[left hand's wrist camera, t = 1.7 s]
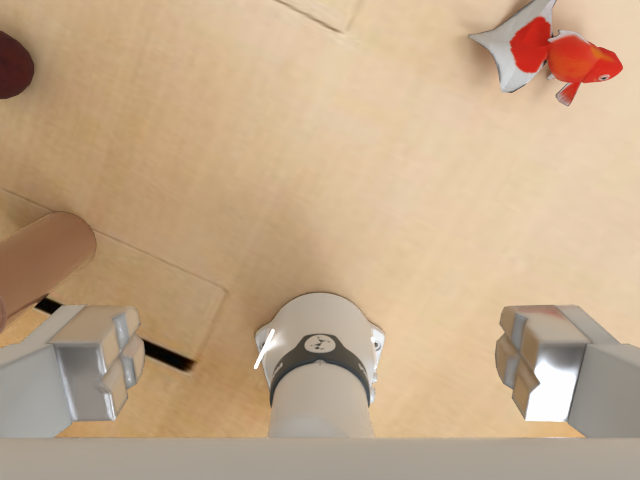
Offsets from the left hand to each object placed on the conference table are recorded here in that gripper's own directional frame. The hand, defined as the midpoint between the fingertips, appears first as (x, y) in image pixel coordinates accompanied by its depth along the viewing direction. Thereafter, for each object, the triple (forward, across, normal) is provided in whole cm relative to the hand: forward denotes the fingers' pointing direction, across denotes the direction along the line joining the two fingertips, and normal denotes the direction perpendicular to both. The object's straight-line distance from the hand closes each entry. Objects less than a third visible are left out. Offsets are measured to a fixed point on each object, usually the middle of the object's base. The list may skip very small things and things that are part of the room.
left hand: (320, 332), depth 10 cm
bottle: (+48, -34, -16) cm, 61 cm away
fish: (+48, +24, +7) cm, 54 cm away
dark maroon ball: (+48, -36, +6) cm, 60 cm away
